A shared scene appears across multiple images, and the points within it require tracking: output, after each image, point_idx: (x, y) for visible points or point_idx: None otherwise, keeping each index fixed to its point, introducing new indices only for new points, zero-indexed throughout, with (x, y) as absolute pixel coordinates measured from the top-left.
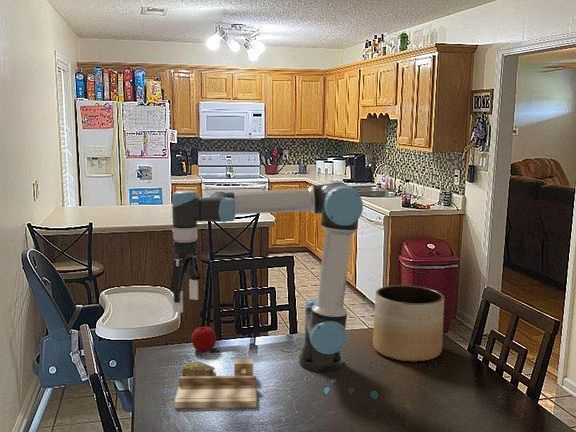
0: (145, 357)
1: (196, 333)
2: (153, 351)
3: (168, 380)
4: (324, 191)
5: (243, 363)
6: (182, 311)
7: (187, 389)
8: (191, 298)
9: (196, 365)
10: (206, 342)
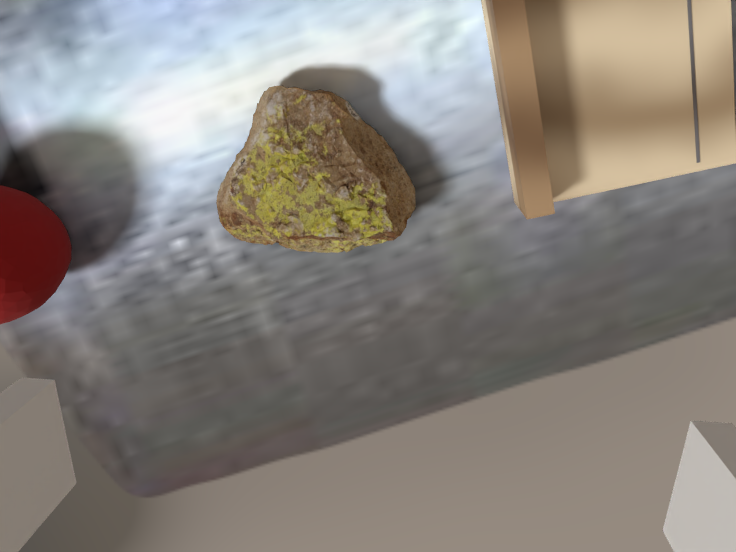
0: (213, 456)
1: (3, 299)
2: (142, 446)
3: (420, 287)
4: None
5: None
6: (723, 429)
7: (583, 144)
8: (63, 467)
9: (309, 187)
10: (34, 220)
